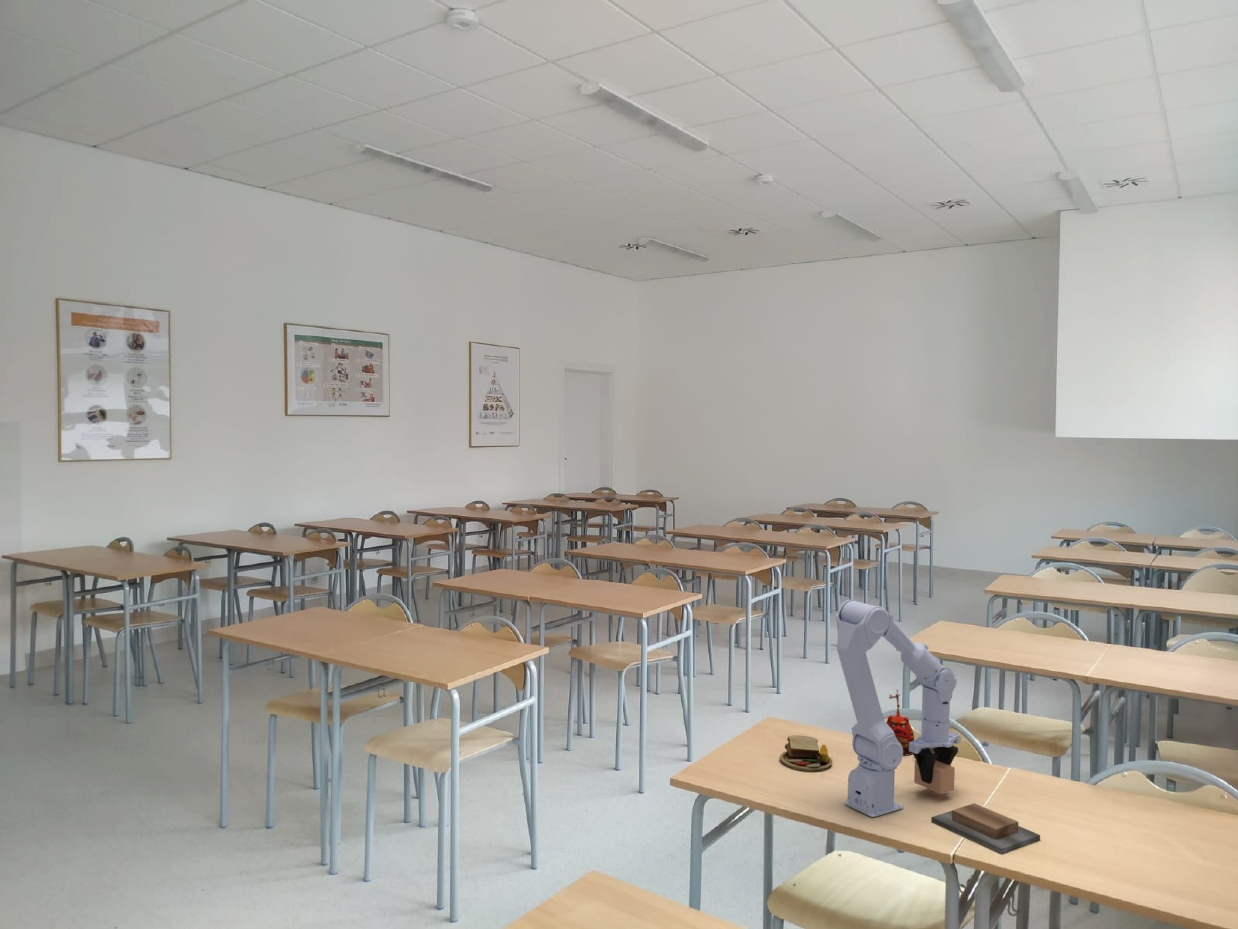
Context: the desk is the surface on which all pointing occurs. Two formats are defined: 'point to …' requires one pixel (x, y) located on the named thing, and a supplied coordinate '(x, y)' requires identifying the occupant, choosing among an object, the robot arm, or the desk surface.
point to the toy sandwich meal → (805, 754)
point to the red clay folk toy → (901, 728)
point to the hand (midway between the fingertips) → (934, 780)
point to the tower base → (987, 840)
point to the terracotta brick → (937, 778)
